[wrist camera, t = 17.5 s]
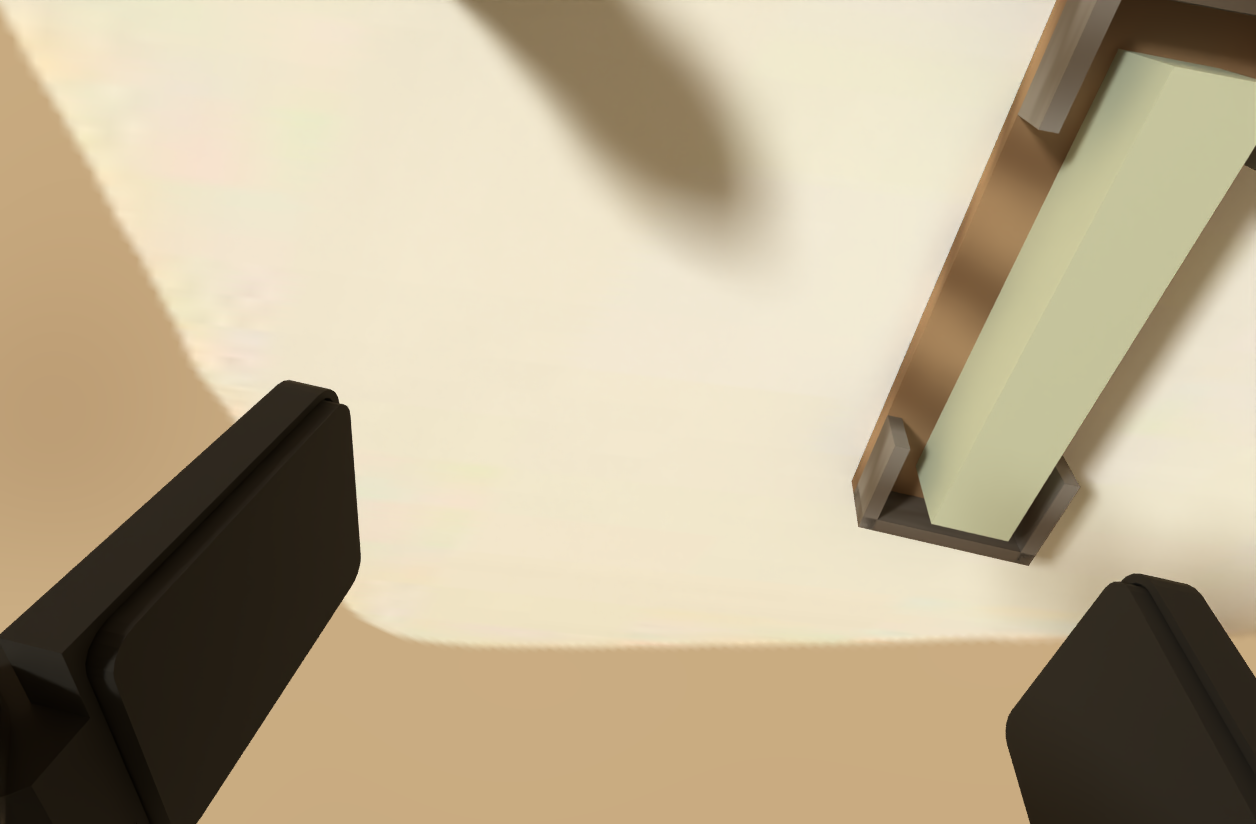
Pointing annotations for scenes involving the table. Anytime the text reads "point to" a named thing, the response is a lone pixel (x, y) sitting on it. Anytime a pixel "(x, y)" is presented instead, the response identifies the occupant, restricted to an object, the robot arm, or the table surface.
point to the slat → (1085, 282)
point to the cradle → (996, 230)
